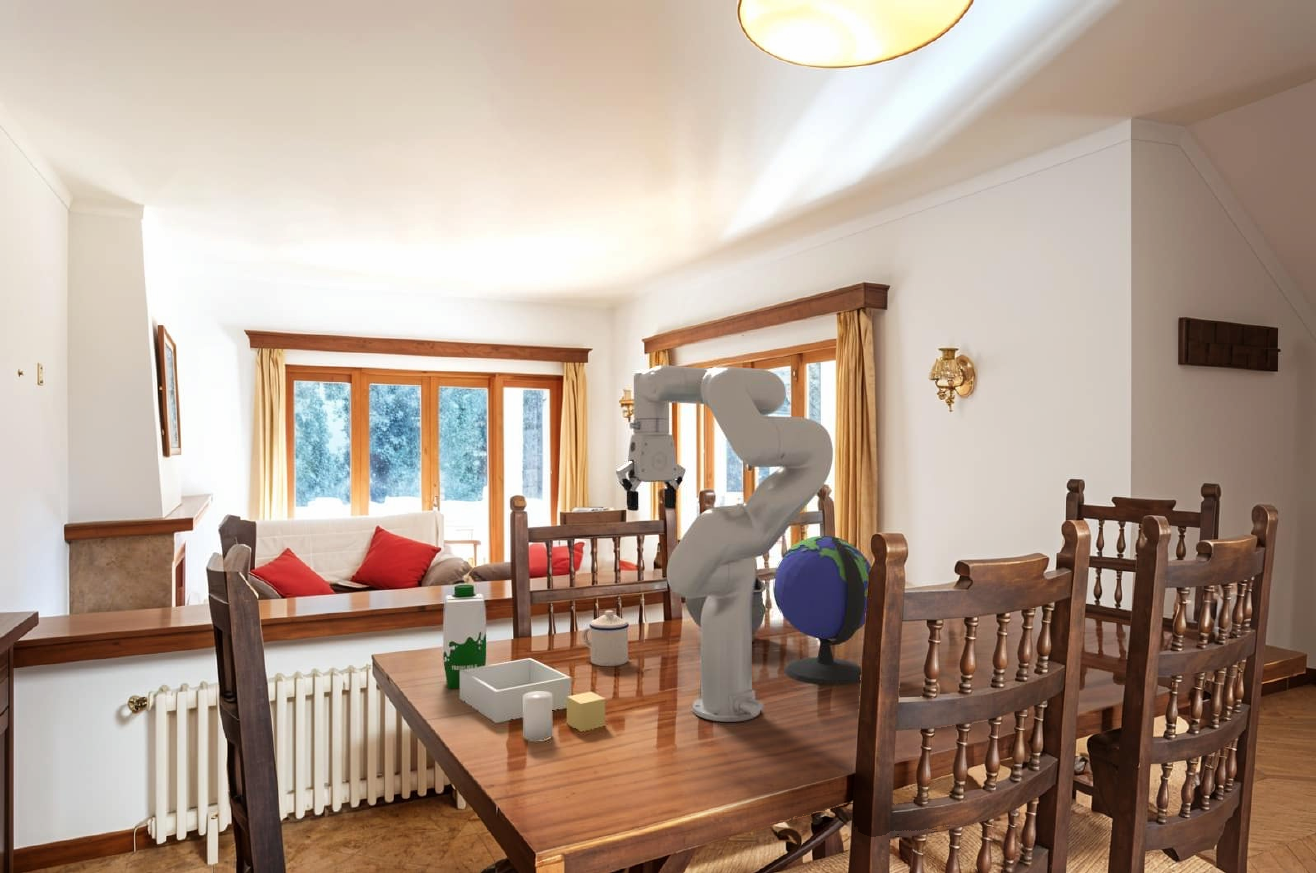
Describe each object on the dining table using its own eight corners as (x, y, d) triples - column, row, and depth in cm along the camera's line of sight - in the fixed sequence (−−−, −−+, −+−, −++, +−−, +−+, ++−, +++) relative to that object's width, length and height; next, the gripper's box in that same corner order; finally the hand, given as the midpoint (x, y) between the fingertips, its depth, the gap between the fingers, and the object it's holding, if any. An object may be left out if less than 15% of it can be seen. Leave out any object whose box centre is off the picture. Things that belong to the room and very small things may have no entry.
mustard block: (605, 726, 143) (605, 698, 143) (580, 732, 140) (580, 703, 140) (591, 719, 147) (591, 691, 147) (566, 724, 144) (566, 696, 144)
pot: (671, 636, 210) (671, 540, 210) (740, 628, 218) (739, 536, 219) (709, 655, 191) (709, 549, 191) (782, 645, 200) (782, 544, 200)
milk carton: (484, 675, 174) (484, 583, 175) (487, 687, 166) (487, 590, 166) (442, 679, 172) (442, 585, 172) (443, 691, 163) (443, 592, 164)
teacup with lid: (636, 660, 187) (636, 609, 187) (613, 669, 179) (613, 616, 179) (595, 653, 193) (595, 604, 193) (571, 661, 186) (571, 611, 186)
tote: (571, 707, 153) (571, 677, 153) (495, 723, 144) (495, 691, 144) (530, 685, 167) (530, 658, 168) (459, 698, 159) (459, 670, 159)
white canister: (557, 737, 137) (557, 696, 137) (531, 744, 134) (530, 702, 134) (544, 729, 141) (544, 689, 141) (518, 735, 138) (518, 694, 138)
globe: (892, 669, 178) (891, 533, 179) (856, 694, 160) (855, 544, 160) (799, 654, 191) (798, 528, 191) (756, 677, 173) (755, 537, 173)
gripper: (627, 427, 162) (627, 512, 162) (694, 428, 172) (694, 508, 172) (607, 428, 168) (607, 510, 168) (673, 429, 178) (673, 506, 178)
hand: (651, 509), depth 170 cm, fingers open, 9 cm apart
